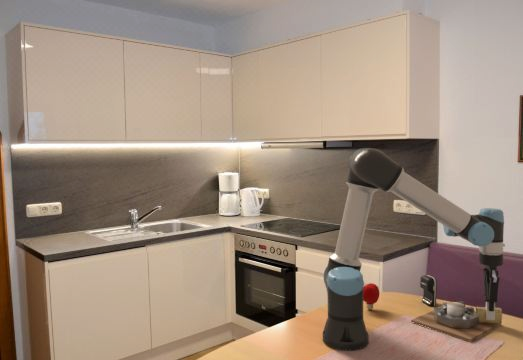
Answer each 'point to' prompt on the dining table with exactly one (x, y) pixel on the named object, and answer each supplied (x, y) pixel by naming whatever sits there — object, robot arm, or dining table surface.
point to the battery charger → (429, 290)
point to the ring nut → (465, 317)
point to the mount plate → (462, 333)
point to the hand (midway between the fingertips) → (490, 319)
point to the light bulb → (370, 295)
